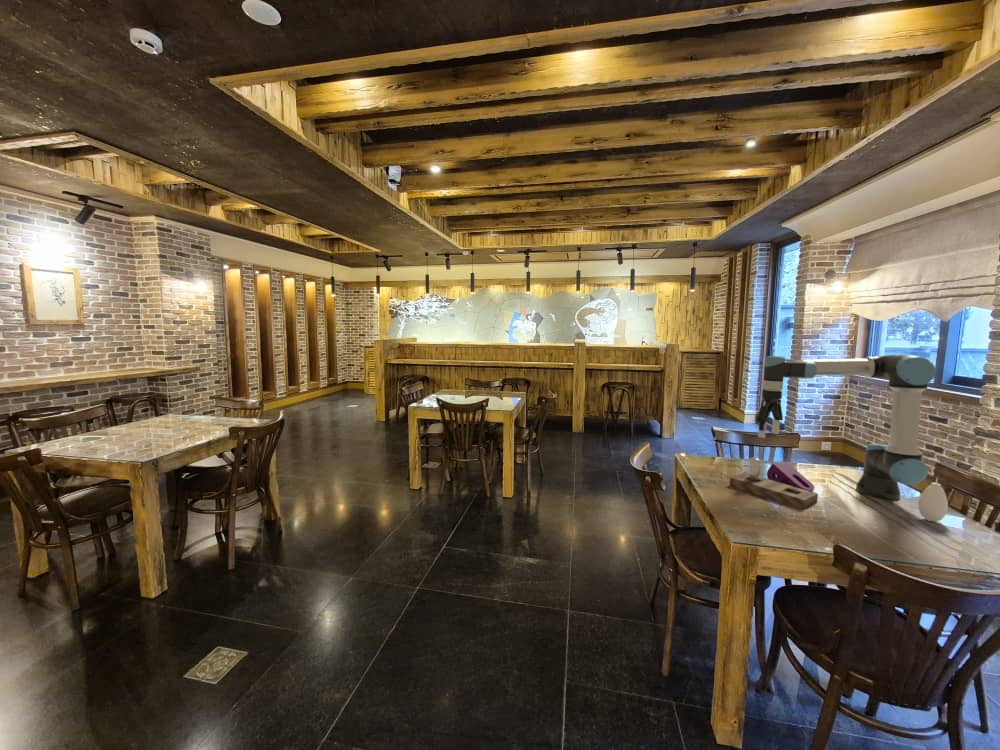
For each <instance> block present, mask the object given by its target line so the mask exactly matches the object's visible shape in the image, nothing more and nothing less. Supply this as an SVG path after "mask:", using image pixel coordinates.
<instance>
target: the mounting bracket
mask: <svg viewBox="0 0 1000 750" xmlns="http://www.w3.org/2000/svg"><path fill="white" fill-rule="evenodd" d="M766 477H767V479H769V480H772V481H776V482H779V483H783V484H785V483H786V482H788V483H787V484H790V486H793V487H797V488H800V489H803V490H807V491H810V492H813V491H814V490H815V486H814V484H813V483H812V481H810V480H809V479H807V478H806V476H804V475H802V474H801V472H800V471H798V470H797V469H796V468H794V467H793V466H792V465H791V464H790V463H788V462H787V461H783V462H781V461H780V462H772V464H771V465H770V467H769V468H768V469H767V471H766ZM784 481H785V482H784Z"/></svg>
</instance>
